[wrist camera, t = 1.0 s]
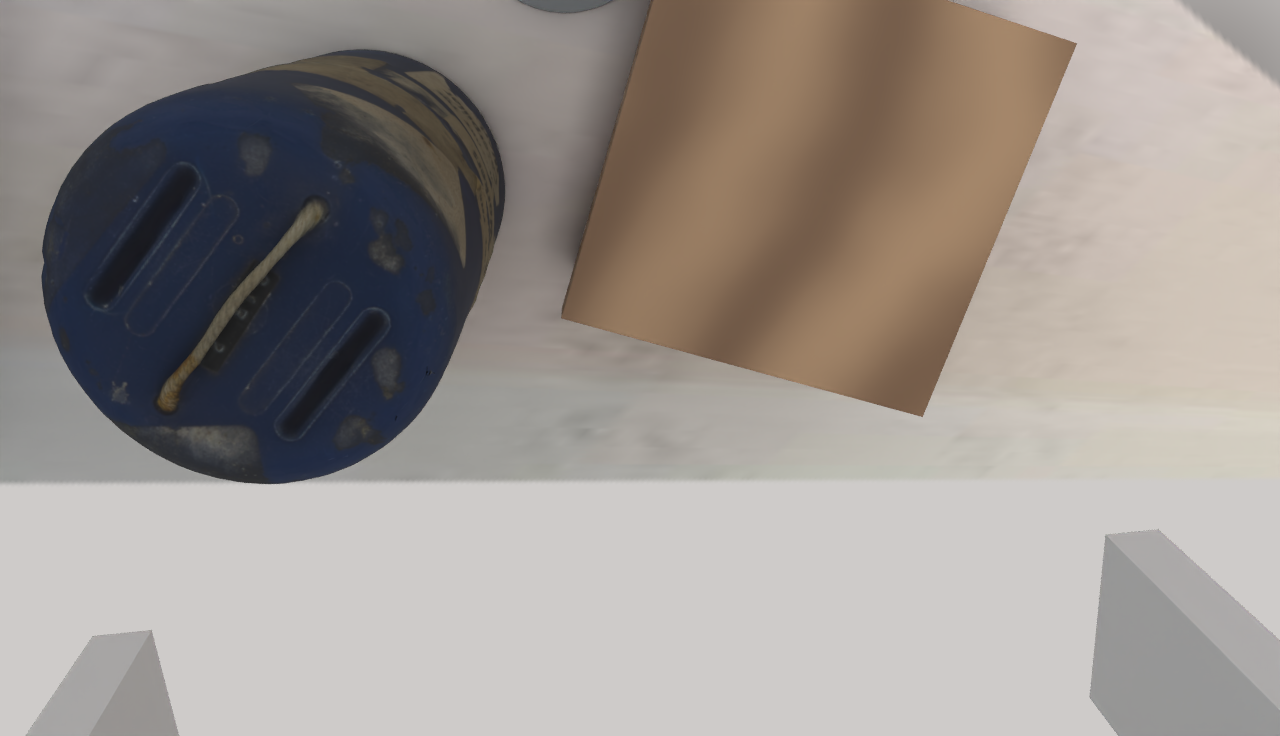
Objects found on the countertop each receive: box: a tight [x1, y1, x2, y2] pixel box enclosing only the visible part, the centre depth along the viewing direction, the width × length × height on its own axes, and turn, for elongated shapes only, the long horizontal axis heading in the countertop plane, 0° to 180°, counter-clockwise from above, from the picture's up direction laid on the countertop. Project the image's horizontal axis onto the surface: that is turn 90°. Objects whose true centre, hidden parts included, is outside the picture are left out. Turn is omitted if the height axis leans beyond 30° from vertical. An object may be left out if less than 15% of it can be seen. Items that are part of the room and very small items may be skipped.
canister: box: [42, 50, 505, 484], centre depth 32 cm, size 10×10×18 cm
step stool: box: [561, 0, 1077, 417], centre depth 38 cm, size 13×13×6 cm
